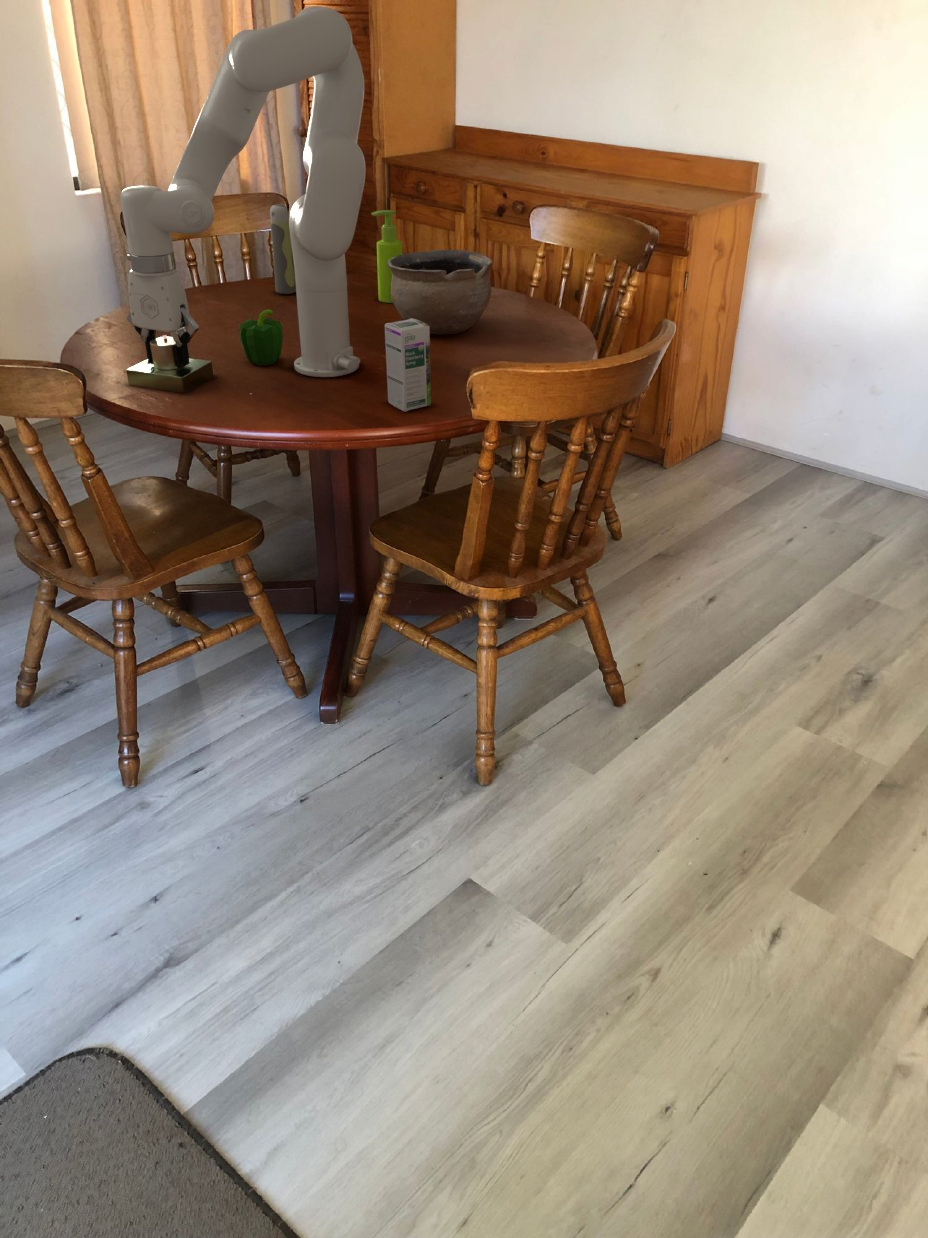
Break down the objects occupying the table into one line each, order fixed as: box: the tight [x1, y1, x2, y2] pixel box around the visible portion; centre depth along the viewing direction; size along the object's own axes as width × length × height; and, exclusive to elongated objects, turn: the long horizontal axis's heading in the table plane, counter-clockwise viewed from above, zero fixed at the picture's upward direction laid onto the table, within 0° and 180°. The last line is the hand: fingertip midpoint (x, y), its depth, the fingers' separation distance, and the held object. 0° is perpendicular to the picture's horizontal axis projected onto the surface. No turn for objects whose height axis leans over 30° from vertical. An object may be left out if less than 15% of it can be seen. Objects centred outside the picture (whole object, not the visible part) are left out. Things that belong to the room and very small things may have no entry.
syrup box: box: [384, 318, 432, 412], centre depth 170 cm, size 6×6×14 cm
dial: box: [150, 334, 177, 370], centre depth 180 cm, size 6×6×5 cm
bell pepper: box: [238, 309, 284, 366], centre depth 190 cm, size 8×8×10 cm
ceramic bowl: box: [388, 249, 494, 336], centre depth 208 cm, size 22×22×15 cm
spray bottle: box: [269, 203, 296, 295], centre depth 231 cm, size 5×5×20 cm
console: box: [125, 357, 214, 394], centre depth 182 cm, size 12×10×3 cm
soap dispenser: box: [370, 209, 403, 304], centre depth 227 cm, size 6×7×20 cm
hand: (169, 362), depth 181 cm, fingers closed on dial, 5 cm apart
